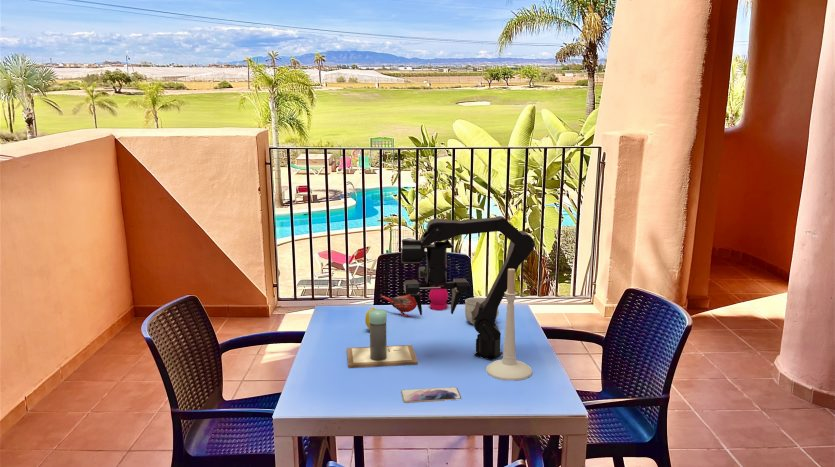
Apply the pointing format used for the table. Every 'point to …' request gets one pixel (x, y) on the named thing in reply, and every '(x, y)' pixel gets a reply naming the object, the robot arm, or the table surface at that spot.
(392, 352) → the writing board
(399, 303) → the decorative bird figurine
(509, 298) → the candlestick
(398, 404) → the table surface
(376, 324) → the canister
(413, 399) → the smartphone
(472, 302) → the teacup
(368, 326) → the lemon
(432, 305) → the pepper mill
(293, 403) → the table surface
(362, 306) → the table surface
